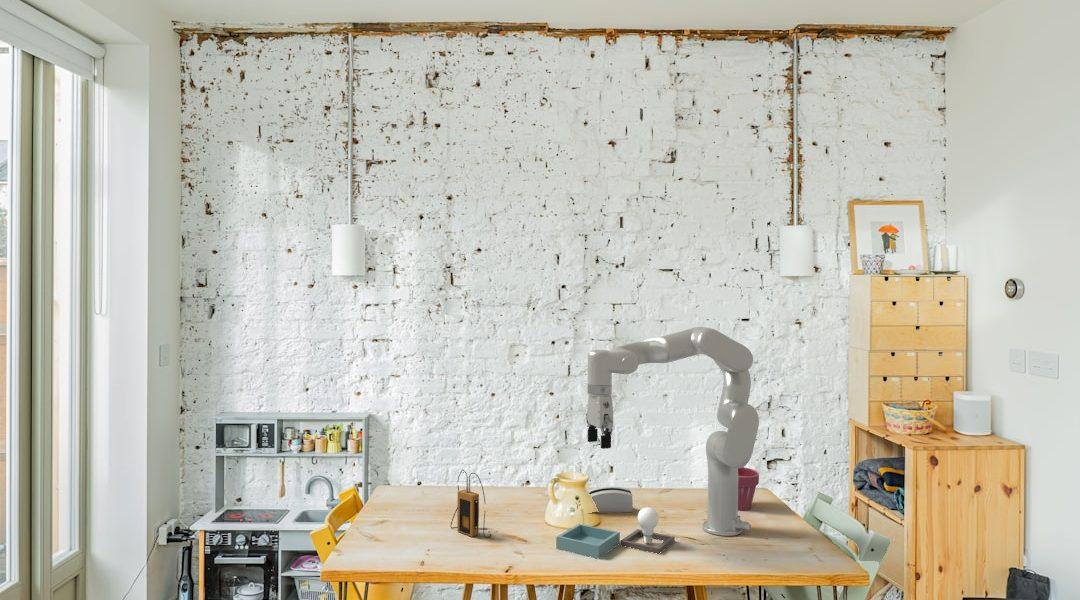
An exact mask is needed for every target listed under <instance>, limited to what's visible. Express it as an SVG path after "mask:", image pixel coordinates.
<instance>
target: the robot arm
mask: <svg viewBox="0 0 1080 600" xmlns="http://www.w3.org/2000/svg"><path fill="white" fill-rule="evenodd" d="M698 355H704V356H707V357H709V358H710V359H712V360H713V361H714V363H715V364H716V366H717V367H718V368H719V369H720V371H721V373H722V376H723V386H722V391H721V395H720V399H719V403H718V408H717V413H716V419H717V421H718V423H719V424H720V425H721V426H724V427H725V428H727V431H726V430H725V431H724V430H716V431H715V432H712V433H711V434H710V435H709V436H708V438H707V439H706V443H705V453H706V461H707V509H706V510H707V511H706V512H707V515H706V516H707V519H706V521H704V522H702V525H701V526H702V527H701V528H702V530H704V531H705V532H707V533H709V534H711V535H715V536H716V535H717V536H722V537H725V536H726V537H730V536H731V537H733V536H738V535H740V534H742V533H743V530H746V531H751V527H752V524H750V522H749V521H745V520H744V521H743V520H742V519H741V515H739V513H738V512H739V510H738V468H742V467H745V466H746V465H748V463H750V461H751V458H752V455H753V452H754V448H755V444H756V439H757V436H758V431H759V426H760V418H759V413H758V411H757V409H755V407H754V406H752V405H751V404H749V399H750V394H751V389H752V388H751V387H752V379H751V373H750V369H751V367H752V366H753V363H754V356H753V353H752V351H751V350H750V349H749V347H747V346H745V345H743V344H741V343H740V342H738V341H736V340H734V339H733V338H731V337H729V336H727V335H726V334H724V333H722V332H720V331H718V330H717V329H714V328H711V327H704V326H698V327H697V326H695V327H692V328H688V329H684V330H681V331H678V332H674V333H670V334H666V335H662V336H659V337H653V338H649V339H645V340H640V341H635V342H631V343H627V344H624V345H620V346H617V347H614V348H612V349H610V350H608V349H607V350H606V349H592V350H590V351H589V352H588V354H587V386H586V387H587V393H586V395H587V396H588V399H587V411H586V414H585V416H586V423H587V426H586V427H587V442H589V443H593V442H598V439H599V438H598V435H599V434H598V429H600V433H601V435H600V449H602V450H603V449H604V450H605V449H611V448H612V436H613V427H614V407H613V406H614V405H613V399H612V395H613V394H612V393H613V392H612V391H613V390H612V389H613V386H612V385H613V383H612V382H613V381H612V380H613V374H617V375H618V374H620V375H632V374H633V373H635V372H636V370H637V369H638V368H639V365H645V364H667V363H673V362H676V361H678V360H679V361H680V360H683V359H686V358H691V357H693V356H694V357H695V356H698Z"/></svg>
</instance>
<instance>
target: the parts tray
mask: <svg viewBox="0 0 1080 600" xmlns="http://www.w3.org/2000/svg"><path fill="white" fill-rule="evenodd" d="M620 533H621V532H620V531H615V530H610V529H607V528H601V527H598V526H592V525H588V524H583V523H578V524H576V525H575V526H573V527H570V528H569V529H567V530H566V531H564V532H562V533H560V534H558V535H556V537H555V538H556V539H555V540H556V543H555V544H556V547H555V548H556V549H557V550H559V551H560V550H561V551H564V550H565V552H569V553H572V552H573V554H576V553H577V555H581V556H585V555H586V557H589V556H591V557H590V558H593V557H594V559H597V558H599V559H600V558H602V556H604V555H605V554H607V553H609V552H610V551H612V550H613V549H614V547H615V546H616V547H618V546H619V545H620V541H621V536H620V535H621V534H620ZM618 544H619V545H618ZM616 547H615V548H616ZM611 549H612V550H611ZM608 551H609V552H608Z"/></svg>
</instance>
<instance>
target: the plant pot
mask: <svg viewBox="0 0 1080 600" xmlns="http://www.w3.org/2000/svg"><path fill="white" fill-rule="evenodd" d="M759 483H760V474H759V472H758V471H757V470H755V469H753V468H749V467H745V466H744V467H742V468H738V511H748V510H750V509H751V508H752V504H753V500H754V496H755V493H756V492H755V491H756V487H757V486H758V485H759Z"/></svg>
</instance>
